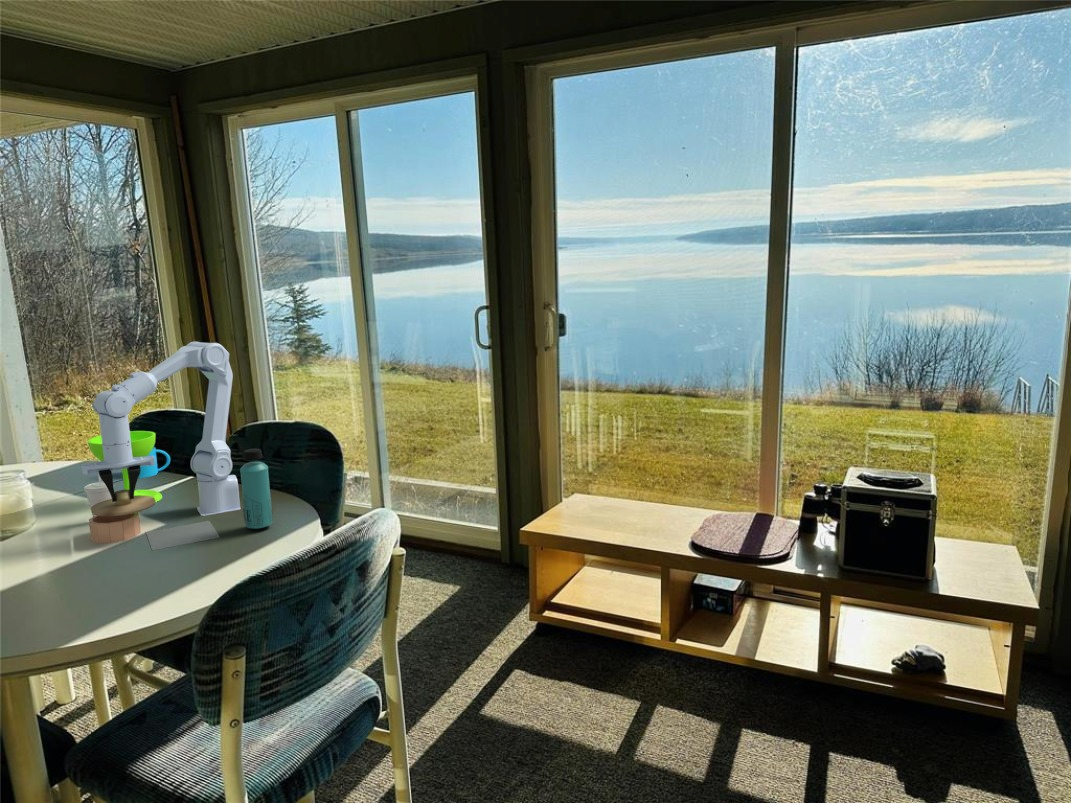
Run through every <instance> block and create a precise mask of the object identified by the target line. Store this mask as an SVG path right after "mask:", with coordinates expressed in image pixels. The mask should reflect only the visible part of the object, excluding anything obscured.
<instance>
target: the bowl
mask: <svg viewBox="0 0 1071 803" xmlns="http://www.w3.org/2000/svg"><path fill="white" fill-rule="evenodd" d="M88 523H89V532H90V540H91V542H93V543H96V544H113V543H117V542H123V541H127V540H129V539H133V538H135V537H137V536H138V535H139V534H141V532H142V530H141V525H140V524H141V523H140V514H139V512H136V513H131V514H126V515H118V516H98V515H95V516H94V517H93V516H92V517H90V518H88Z"/></svg>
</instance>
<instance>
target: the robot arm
mask: <svg viewBox="0 0 1071 803" xmlns="http://www.w3.org/2000/svg"><path fill="white" fill-rule="evenodd" d="M229 360H230V353H229V351H227V349H226V348H225V347H224V346H223V344H220V343H218V342H200V341H191V342H189V343H187V344H186V345H184V346H181V347H179V349H178V350H177V351H176V352H175V353H173V354H172V355H170V356H169V357H168V358H166V359H164V360H163V361H162V362H160V363H159V364H157V365H156V366H154V367H153V368H152V369H150V370H149V371H147V372H145V371H142V370H141V371H138V372H135V371H133V372H130V374H129V375H128V376H129V377H128V378H127V379H125V380H123V381H122V382H120V383H119V384H116V383H114V384H113V385H111V390H103V391H101V392H99V393H98V394H97V395H96V396H95V398H94V399H93V400H94V401H93V403H92V404H91V405H92V406H91V407H92V409H93V411H94V412H95V413H97V415H98V419H99V428H100V436H101V438H102V446H103V455H104V461H102V462H101V461H98V462H91V463H88V464H81V470H82V475H83V476H86V475H89V474H95V473H98V472H99V475H100V477H101V481H102V482H104V483H105V485H106V486H107V488H108V490H109V492H110V494H111V497H112V502H116V497H115V492H116V491H115V486H114V487H113V484H114V479H113V474H112V472H113V471H117V470H122V469H126V468H127V471H128V479H129V490H130V499H134V491H135V490H136V485H137V482H138V479H139V478H138V477H139V475H140V472H141V469H140V467H141V466H148V465H150V466H153V465H155V458H154V456H147V457H132V448H131V439H130V431H131V430H130V422H129V414H130V413H131V411H132V409H133V406H135V405H136V404H138V403H140V402H141V401H143V400H144V399H146V398H148V397H149V396H150V395H151V394H154V393H155V392H156V391H157V387H158V384H159V383H162V382H163V381H164V380H166V379H168V378H169V377H172V376H173V375H175V374H176V373H178V372H180V371H182V370H183V369H185V368H194V369H196V370H199V371H200V372H201V373H202V374H203V376H205V377H206V378H207V379H208V389H207V394H206V395H207V396H206V403H205V404H206V405H205V413H204V422H203V431H202V438H201V441H200V442H198V444H196V446H195V452H194V453H193V455H192V457H191V459H190V462H189V463H190V469H191V470H192V472H194V474H196V479H197V490H198V498H199V506H197V507H196V509H197V512H199V514H200V516H201V517H205V516H211V515H216V514H222V513H228V512H233V511H239V510H241V501H240V491H239V490H240V489H239V483H238V482H239V481H238V478H237V475H235V474H231V472H232V470H233V461H232V458H231V453H232V452H231V449H230V447H229V445H227V443H226V438H227V429H228V420H229V412H230V410H229V409H230V402H231V395H232V386H233V379H234V377H233V376H234V375H233V371H232V367H231V365H230V364H231V363H230V361H229Z"/></svg>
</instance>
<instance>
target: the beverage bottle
mask: <svg viewBox="0 0 1071 803" xmlns="http://www.w3.org/2000/svg"><path fill="white" fill-rule="evenodd" d="M262 458H263V452H262V450H261V448H248V449H245V450H243V460H244V461H249V462H247V463H244V464H243V465H242V466H241V467H240V469H239V472H240V480H241V481H240V482H241V493H242V506H243V508H242V510H243V520H244V524H245V527H246V528H248V529H262V528H266V527H267V528H268V526H271V525H272V524H273V521H274V518H273V517H274V516H273V515H274V514H273V503H272V495H271V489H270V488H271V487H270V479H269V478H270V477H269V475H270V474H269V466H268V465H267V464H266V463H265V462H262V461H258V460H261V459H262ZM256 460H257V461H256Z"/></svg>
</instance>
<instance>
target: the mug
mask: <svg viewBox="0 0 1071 803" xmlns="http://www.w3.org/2000/svg"><path fill="white" fill-rule="evenodd" d="M157 453H160V454H163V455H164V456H165V457H166V462H165V464H164V465H163V466H162V467H159V468H158V462H157V461H158V460H157V459H158V458H157ZM148 456H154V458H155V465H153V466H150V465H148V466H141V467H140V469H141V472H140V475H139V477H138V479H142V478H143V479H144V478H151V477H154V476H156V475H158V474H159V472H160V471H163V470H165V469H166V468H167V467H169V465H170V464H171V456H170V455H169V454H168V453H167V452H166V451H165V450H162V449H156V447H155V446H154V447H153V450H152V451H151V452H150V454H149V455H148ZM157 473H158V474H157Z"/></svg>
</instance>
